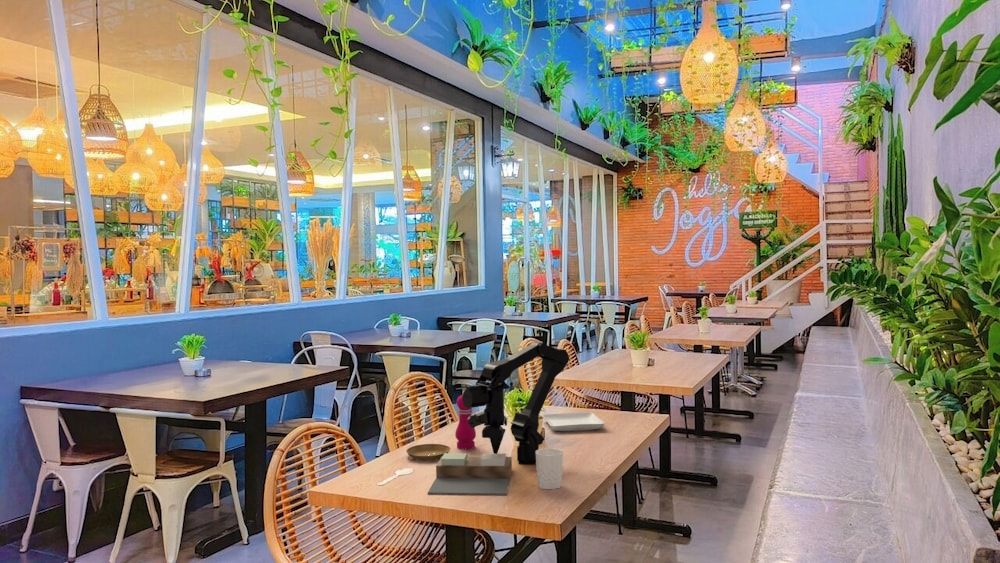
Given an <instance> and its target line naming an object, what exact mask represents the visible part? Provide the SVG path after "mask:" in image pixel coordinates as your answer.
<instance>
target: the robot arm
mask: <svg viewBox="0 0 1000 563" xmlns="http://www.w3.org/2000/svg"><path fill="white" fill-rule="evenodd" d="M568 353H569V352H568V351H567V350H566V349H562V348H555V347H552V346H550V345H547V344H545V343H544V342H539V341H532V342H531V343H530V344H529V345H527V346H525V347H524V348H521V349H520V350H518V351H516V352H515V353H514V354H511V355H509V356H508V357H506V358H504V359H499V360H494V361H491V362H489V363H486V364H485V365H484V366H483V368H482V371H481V373H480V375H479V377H478V378H477V381H476V383H475V384H474V385H471V384H469V385H466V386H465V389H464V390H465V391H464V390H463V391H464V393H463V394H462V395H463V396H462V400H463V404H464V406H465V407H466V408H472V409H474V408H479V407H485V408H484V409H483V410H484V411H480V412H477V413H474V414H471V416H469V417H468V424H469V425H470V427H471V428H475V429H476V427H478V426H481V425H483V426H484V427H483V428H482V431H481V437H482V438H484V439H489V440H490V445H491V447H492V448H491V449H492V452H493V453H492V454H499V450H500V447H501V444H502V441H503V439H504V436H505V434H506V433H505V432H506V428H503V426H504V427H505V426H508V418H507V416H506V415H505V407H506V406H505V390H509V389H510V388H511V386H509V385H508V384H507V383H506V381H507V379H509V378H510V377H511V375H512V374H513V372H515V371H516V370H518V369H519V368H521V367H522V366H524V365H526V364H528V363H529V362H531V361H533V360H534V359H535V360H536V358H540V359H541V373H540V374H539V376H538V379H537V380H536V383H535V386H534V388H533V390H532V392H531V394H530V397H529V399H528V401H527V403H526V406H525V407H524V409H523V411H521V412H519V411H516V412H515V414H514V417H513V419H512V420H511V422H510V424H511V426H510V432H511V434H512V436H513V438H514V440H515V441H516V442H518V445H517V446H516V447H517V448H516V452H517V453H516V455H517V456H516V457H517V462H518V464H519V465H521V464H522V465H536V450H538V449H540V448H539V446H540V445H542V444H543V443H544V436H543V435H542V434H541V433H540V432H539V431H538V430H539V428H540V426H539V425H540V424H539V422H540V421H539V416H540V413H541V411H542V409H543V407H544V404H545V402H546V400H547V397H548V395H549V392H550V390H551V388H552V386H553V383H554V382H555V379H556V377H557V376H558V375H559V374H561V373H562V372H563V371H564V370H565V369H566V367H567V365H568V363H569V360H570V357H569V354H568Z"/></svg>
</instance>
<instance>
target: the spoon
mask: <svg viewBox="0 0 1000 563" xmlns="http://www.w3.org/2000/svg"><path fill="white" fill-rule="evenodd" d="M401 469H402V470H401ZM414 471H415V469H414V468H412V467H405V468H400V469H398V470H396V471H394V475H392V476H390V477H388V478H385V479H384V480H382V481H383V482H382V481H379V482H378V483H377V484H376V486H378V485H382V486H385V485H386V484H388V483H389V482H391V481H393V480H394V478H395V479H396V478H398V477H400V476H405V475H410V474H412V473H413V472H414ZM384 484H385V485H384Z"/></svg>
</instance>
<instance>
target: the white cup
mask: <svg viewBox="0 0 1000 563" xmlns="http://www.w3.org/2000/svg"><path fill="white" fill-rule="evenodd" d="M563 455H564V452H563V450H561V449H559V448H554V447H544V448H539V449H538V450H536V464H535V465H536V466H535V468H536V476H537V487H538V486H539V487H538V488H539V489H542V488H543V489H542V490H548V489H552V490H557V489H556V488H558V489H559V487H560V488H561V487H562V479H563V460H564V458H563V457H564V456H563Z"/></svg>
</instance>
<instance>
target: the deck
mask: <svg viewBox="0 0 1000 563" xmlns="http://www.w3.org/2000/svg"><path fill="white" fill-rule="evenodd" d="M442 457H443V456H442ZM442 457H441V458H442ZM481 458H482V456H467V461H466V463H465V465H464V466H453V465H441V459H439V460H438V462H437V463H436V465H435V472H436V474H435V476H436V477H435V479H436V478H485V479H509V481H510V480H511V474H512V472H513V470H512V469H513V468H512V467H513V466H512V464H513V463H512V462H513V460H512V458H513V457H512V456H506V462H505V465H504V466H481Z"/></svg>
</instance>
